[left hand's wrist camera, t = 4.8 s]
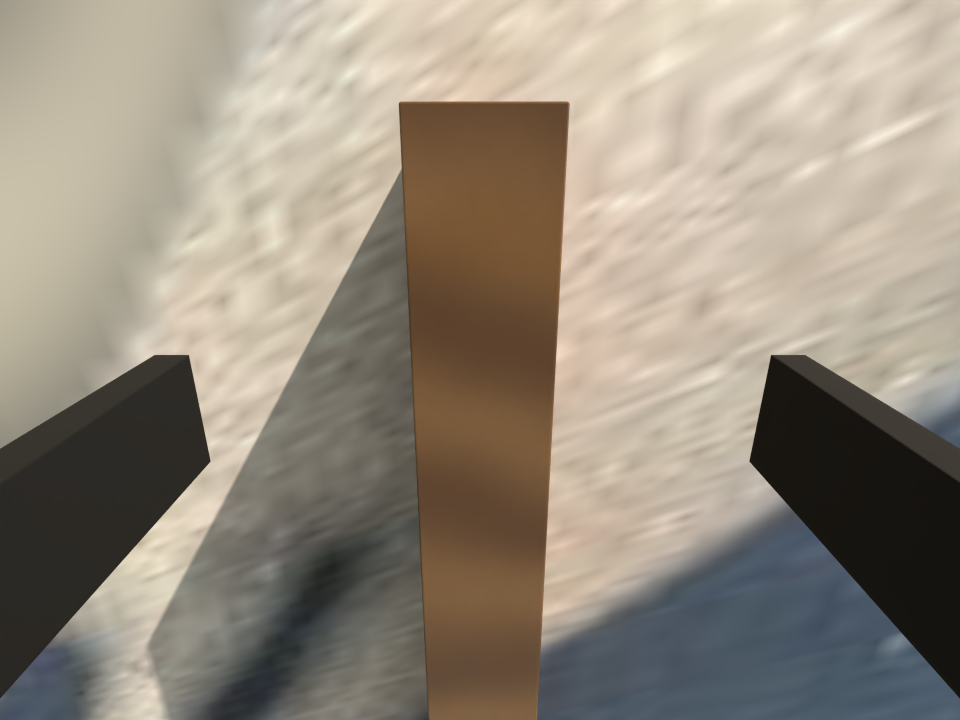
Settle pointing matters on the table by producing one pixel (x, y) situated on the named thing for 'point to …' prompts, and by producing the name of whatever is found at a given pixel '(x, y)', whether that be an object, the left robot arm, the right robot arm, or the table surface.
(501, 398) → the bar
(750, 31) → the table surface
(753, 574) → the table surface
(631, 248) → the table surface
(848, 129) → the table surface
